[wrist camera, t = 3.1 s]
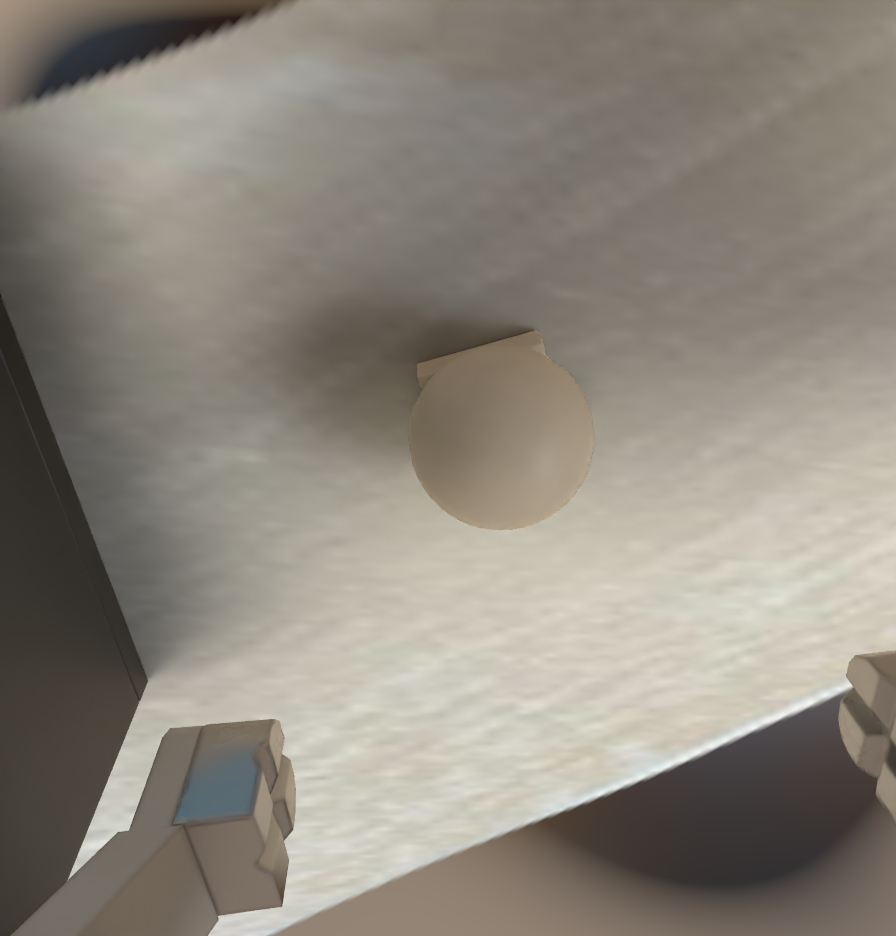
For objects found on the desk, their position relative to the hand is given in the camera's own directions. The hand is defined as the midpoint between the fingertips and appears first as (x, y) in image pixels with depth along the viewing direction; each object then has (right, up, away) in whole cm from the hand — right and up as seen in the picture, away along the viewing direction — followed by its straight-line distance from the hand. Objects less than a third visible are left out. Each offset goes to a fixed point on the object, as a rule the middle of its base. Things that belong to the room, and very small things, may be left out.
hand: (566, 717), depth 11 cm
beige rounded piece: (-1, +5, +9) cm, 11 cm away
